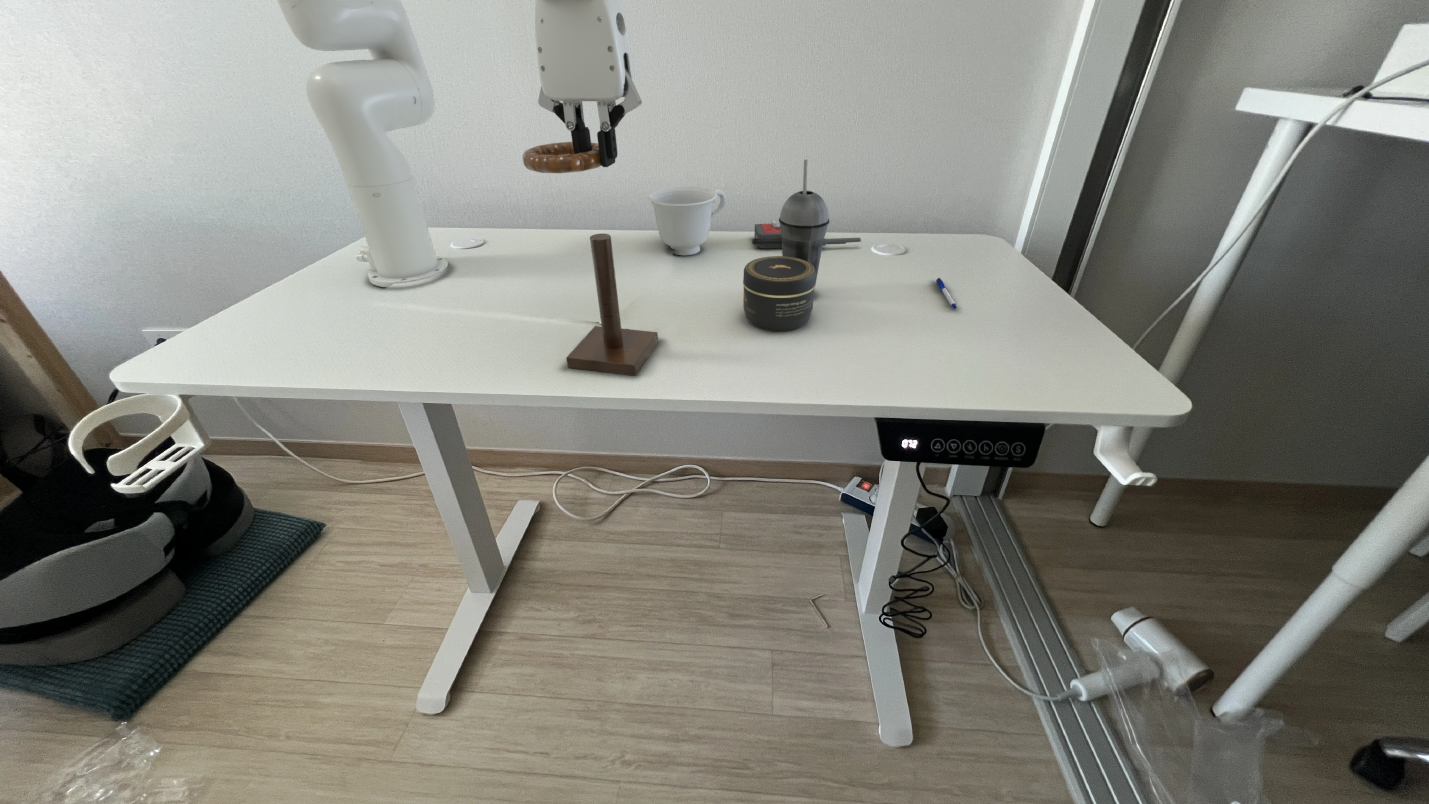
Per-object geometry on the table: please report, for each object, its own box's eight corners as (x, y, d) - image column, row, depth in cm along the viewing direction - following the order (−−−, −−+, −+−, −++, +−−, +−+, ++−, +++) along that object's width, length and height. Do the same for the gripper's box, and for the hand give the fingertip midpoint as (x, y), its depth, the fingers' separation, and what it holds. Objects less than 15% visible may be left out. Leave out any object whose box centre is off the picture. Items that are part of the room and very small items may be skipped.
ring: (508, 173, 70) (505, 156, 69) (548, 156, 79) (545, 140, 77) (589, 175, 68) (587, 157, 67) (621, 157, 77) (619, 141, 75)
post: (567, 367, 73) (546, 247, 65) (596, 335, 81) (580, 222, 72) (635, 375, 72) (622, 252, 63) (658, 341, 79) (650, 227, 70)
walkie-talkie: (753, 253, 107) (861, 249, 108) (754, 229, 104) (864, 225, 105) (747, 238, 114) (848, 234, 115) (748, 215, 112) (851, 211, 113)
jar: (732, 309, 87) (733, 259, 83) (794, 299, 90) (797, 251, 85) (757, 338, 79) (759, 285, 75) (824, 327, 82) (829, 275, 77)
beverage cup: (827, 289, 93) (841, 155, 82) (814, 307, 87) (827, 165, 76) (784, 282, 95) (791, 151, 84) (768, 299, 90) (774, 161, 79)
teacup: (742, 250, 108) (743, 194, 103) (672, 266, 102) (668, 208, 96) (708, 233, 117) (707, 181, 111) (641, 247, 110) (636, 192, 105)
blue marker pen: (933, 282, 94) (935, 276, 94) (939, 282, 94) (940, 276, 94) (952, 309, 85) (954, 303, 85) (958, 309, 85) (960, 303, 85)
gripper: (657, -20, 64) (668, 160, 74) (523, -15, 67) (551, 156, 77) (634, -23, 58) (649, 173, 68) (487, -18, 61) (523, 169, 71)
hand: (597, 163), depth 72 cm, fingers closed on ring, 2 cm apart
